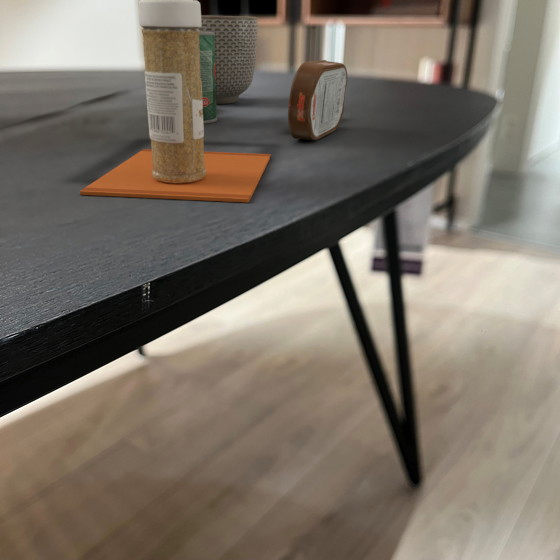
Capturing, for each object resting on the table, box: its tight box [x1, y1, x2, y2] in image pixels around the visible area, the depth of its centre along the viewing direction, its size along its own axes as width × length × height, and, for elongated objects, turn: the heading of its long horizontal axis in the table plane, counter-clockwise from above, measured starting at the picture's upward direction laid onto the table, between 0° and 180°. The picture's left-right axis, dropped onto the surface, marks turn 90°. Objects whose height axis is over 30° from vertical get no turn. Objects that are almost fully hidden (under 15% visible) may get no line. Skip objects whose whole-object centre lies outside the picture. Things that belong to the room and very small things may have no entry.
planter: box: [199, 15, 259, 105], centre depth 93 cm, size 14×14×13 cm
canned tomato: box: [199, 32, 218, 125], centre depth 75 cm, size 8×8×11 cm
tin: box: [287, 59, 349, 141], centre depth 67 cm, size 15×3×8 cm, turn 159°
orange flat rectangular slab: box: [79, 148, 272, 204], centre depth 50 cm, size 13×16×1 cm
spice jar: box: [137, 0, 206, 184], centre depth 45 cm, size 5×5×13 cm
